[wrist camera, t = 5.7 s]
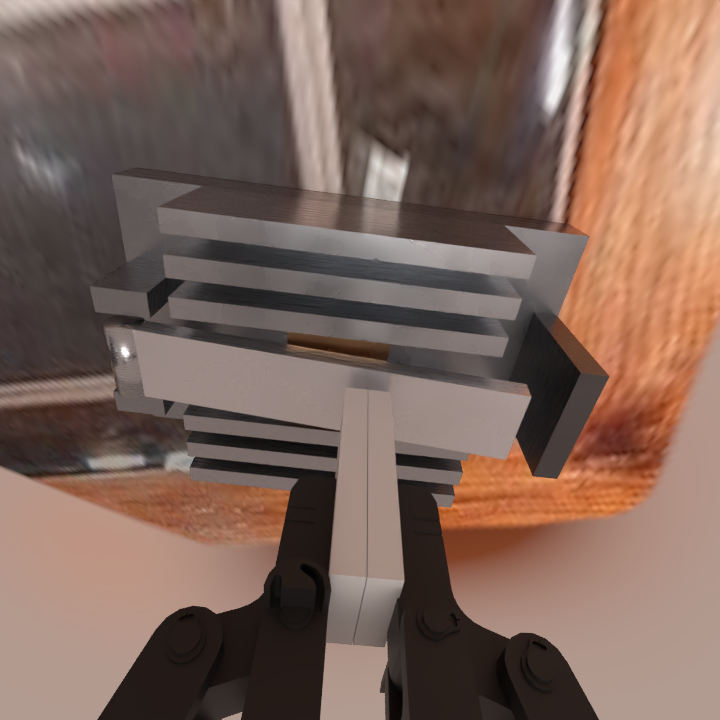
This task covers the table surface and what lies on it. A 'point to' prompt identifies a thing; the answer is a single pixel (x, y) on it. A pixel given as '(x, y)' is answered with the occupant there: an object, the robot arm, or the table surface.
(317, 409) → the grey flat bar
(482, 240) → the heatsink
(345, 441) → the robot arm
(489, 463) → the table surface
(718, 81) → the table surface
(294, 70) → the table surface
